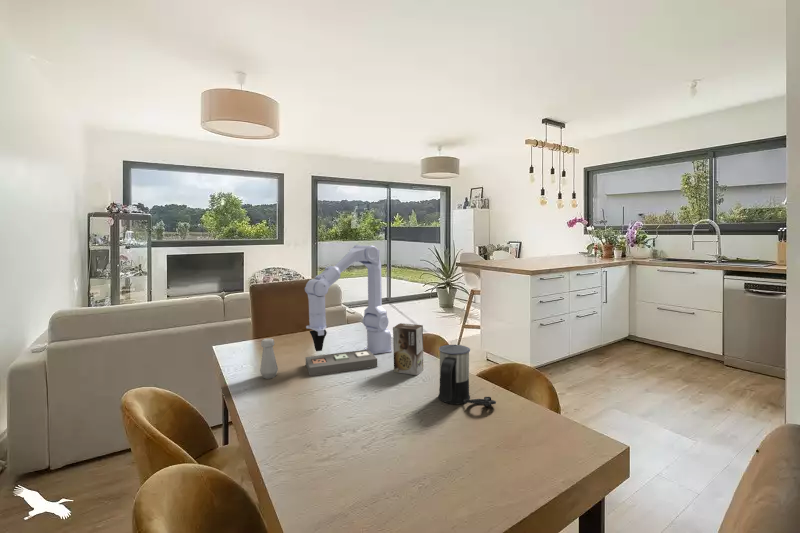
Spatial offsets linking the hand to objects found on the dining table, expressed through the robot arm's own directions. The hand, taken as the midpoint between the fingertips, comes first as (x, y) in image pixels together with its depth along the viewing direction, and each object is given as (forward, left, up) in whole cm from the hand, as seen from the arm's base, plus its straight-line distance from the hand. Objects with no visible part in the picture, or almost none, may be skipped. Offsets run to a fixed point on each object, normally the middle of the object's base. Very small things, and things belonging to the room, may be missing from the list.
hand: (318, 350), depth 138 cm
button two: (-8, 0, -6) cm, 10 cm away
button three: (0, 0, -6) cm, 6 cm away
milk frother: (-35, +43, -7) cm, 56 cm away
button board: (-8, 0, -7) cm, 10 cm away
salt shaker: (+17, +1, -7) cm, 18 cm away
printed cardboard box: (-29, +14, -7) cm, 33 cm away
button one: (-16, 0, -6) cm, 17 cm away
